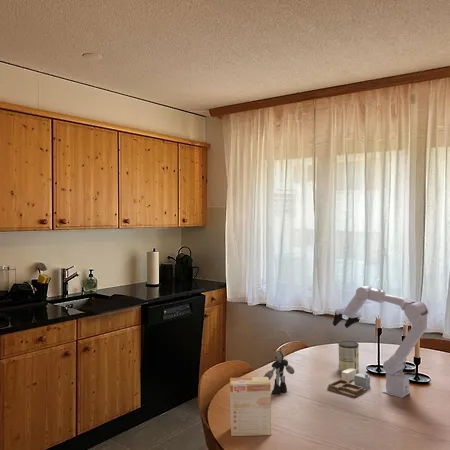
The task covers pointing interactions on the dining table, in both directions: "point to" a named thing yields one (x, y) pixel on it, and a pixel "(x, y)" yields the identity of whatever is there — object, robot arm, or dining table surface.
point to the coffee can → (348, 355)
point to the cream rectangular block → (348, 374)
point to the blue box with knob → (362, 380)
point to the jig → (346, 388)
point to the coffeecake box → (250, 406)
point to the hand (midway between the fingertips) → (339, 325)
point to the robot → (279, 373)
